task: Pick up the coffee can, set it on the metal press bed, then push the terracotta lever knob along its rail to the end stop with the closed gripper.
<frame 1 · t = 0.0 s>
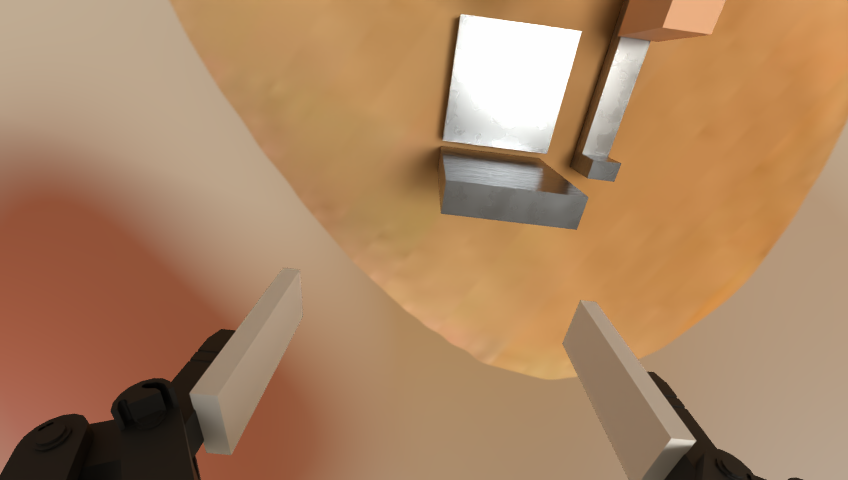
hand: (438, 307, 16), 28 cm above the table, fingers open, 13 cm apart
press bed: (503, 88, 37), on the table
lever knob: (669, 8, 29), point 6 cm above the table, slide at 0.0 cm
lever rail: (610, 82, 36), on the table
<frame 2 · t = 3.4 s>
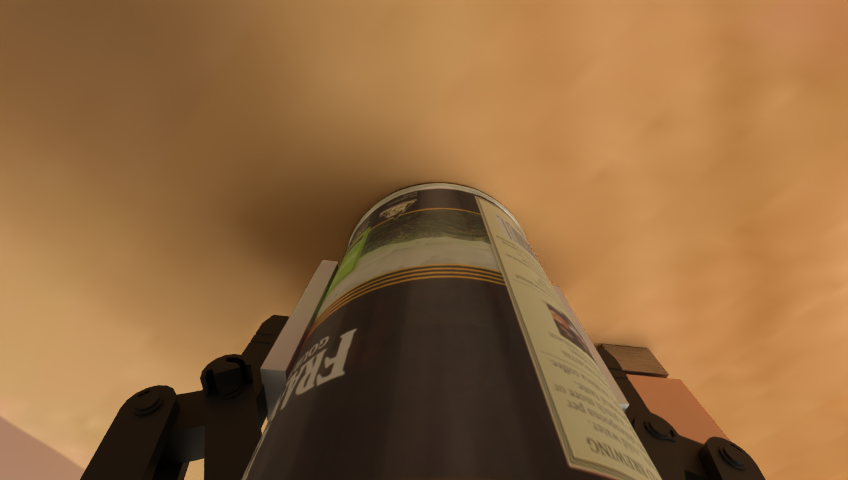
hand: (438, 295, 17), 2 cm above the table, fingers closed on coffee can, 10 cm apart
coffee can: (437, 269, 19), on the table, touching gripper
lever knob: (670, 461, 17), point 6 cm above the table, slide at 0.0 cm
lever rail: (582, 426, 25), on the table
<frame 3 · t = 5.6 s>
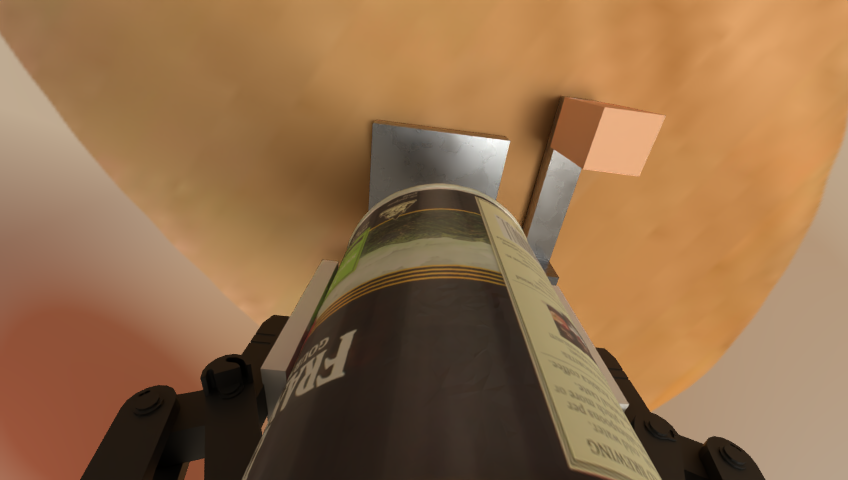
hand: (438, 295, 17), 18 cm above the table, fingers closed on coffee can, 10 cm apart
press bed: (432, 189, 33), on the table
coffee can: (437, 269, 19), point 16 cm above the table, touching gripper
lever knob: (598, 133, 25), point 6 cm above the table, slide at 0.0 cm
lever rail: (550, 185, 33), on the table
when the fingers open (6 cm above the table, at t = 8.1 s): coffee can drops 1 cm, resting on press bed.
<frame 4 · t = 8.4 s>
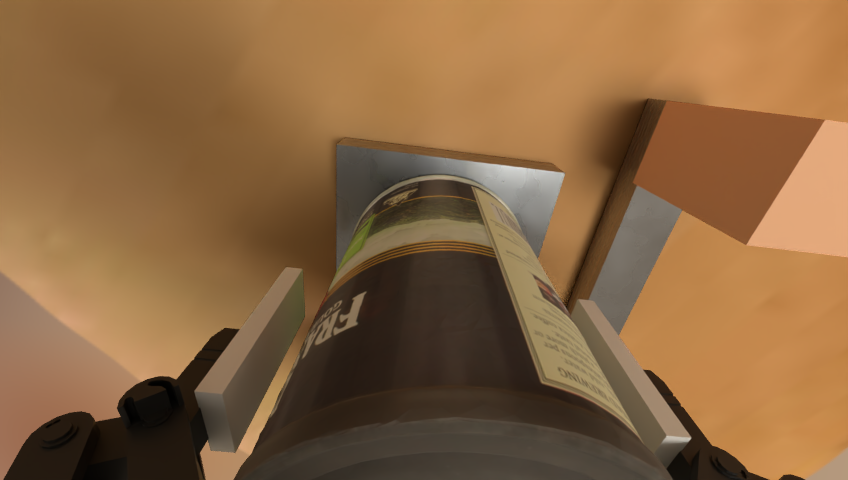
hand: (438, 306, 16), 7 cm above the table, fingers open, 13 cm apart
press bed: (436, 243, 22), on the table
coffee can: (437, 256, 20), point 2 cm above the table, touching press bed
lever knob: (747, 166, 13), point 6 cm above the table, slide at 0.0 cm
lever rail: (618, 235, 21), on the table
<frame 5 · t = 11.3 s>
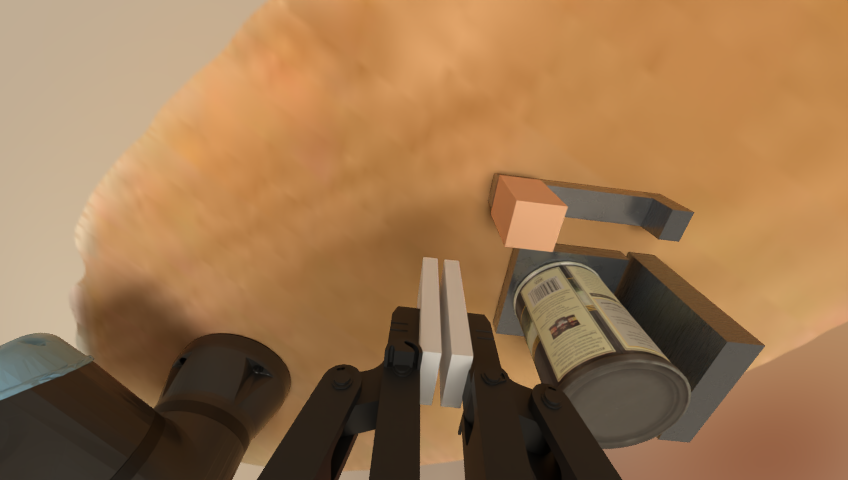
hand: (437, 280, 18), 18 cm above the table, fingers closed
press bed: (552, 288, 40), on the table
coffee can: (557, 297, 38), point 2 cm above the table, touching press bed
lever knob: (524, 210, 29), point 6 cm above the table, slide at 0.0 cm
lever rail: (566, 196, 35), on the table
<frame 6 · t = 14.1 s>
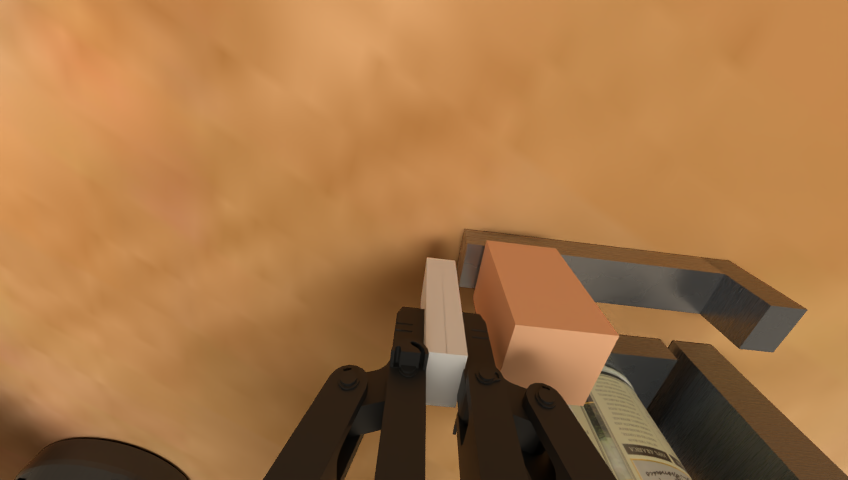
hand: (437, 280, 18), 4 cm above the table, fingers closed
press bed: (556, 386, 27), on the table
coffee can: (564, 406, 26), point 2 cm above the table, touching press bed
lever knob: (528, 312, 17), point 6 cm above the table, slide at 0.9 cm, touching gripper
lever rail: (580, 263, 22), on the table
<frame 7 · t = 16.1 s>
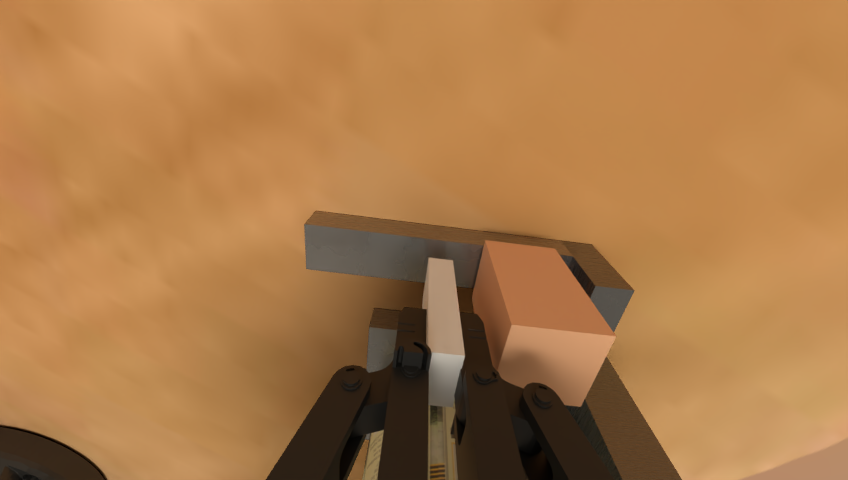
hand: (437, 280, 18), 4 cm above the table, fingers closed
press bed: (444, 375, 27), on the table
coffee can: (444, 394, 25), point 2 cm above the table, touching press bed
lever knob: (526, 312, 16), point 6 cm above the table, slide at 10.2 cm, touching gripper
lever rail: (440, 247, 21), on the table
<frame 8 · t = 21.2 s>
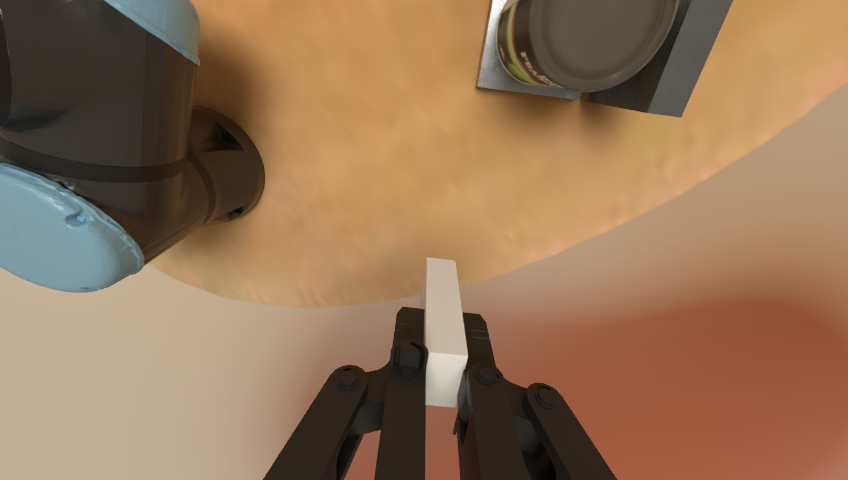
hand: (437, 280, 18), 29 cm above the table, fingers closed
press bed: (537, 35, 38), on the table
coffee can: (542, 33, 36), point 2 cm above the table, touching press bed
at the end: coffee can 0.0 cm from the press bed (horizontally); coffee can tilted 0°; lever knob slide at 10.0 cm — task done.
